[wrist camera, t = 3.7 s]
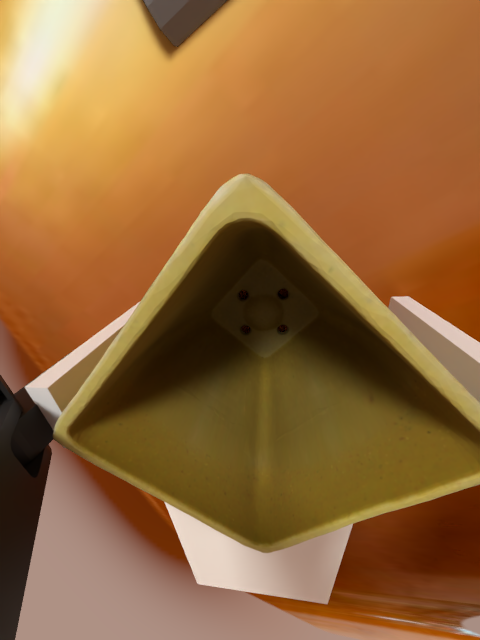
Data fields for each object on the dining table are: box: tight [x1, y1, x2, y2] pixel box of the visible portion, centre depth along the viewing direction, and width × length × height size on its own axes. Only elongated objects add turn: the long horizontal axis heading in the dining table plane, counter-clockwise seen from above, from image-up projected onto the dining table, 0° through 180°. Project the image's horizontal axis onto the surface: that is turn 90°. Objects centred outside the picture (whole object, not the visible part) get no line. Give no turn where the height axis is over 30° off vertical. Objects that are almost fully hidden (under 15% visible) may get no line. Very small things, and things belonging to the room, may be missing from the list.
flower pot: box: [53, 174, 480, 553], centre depth 10 cm, size 9×9×9 cm
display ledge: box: [165, 502, 353, 604], centre depth 22 cm, size 14×20×4 cm
